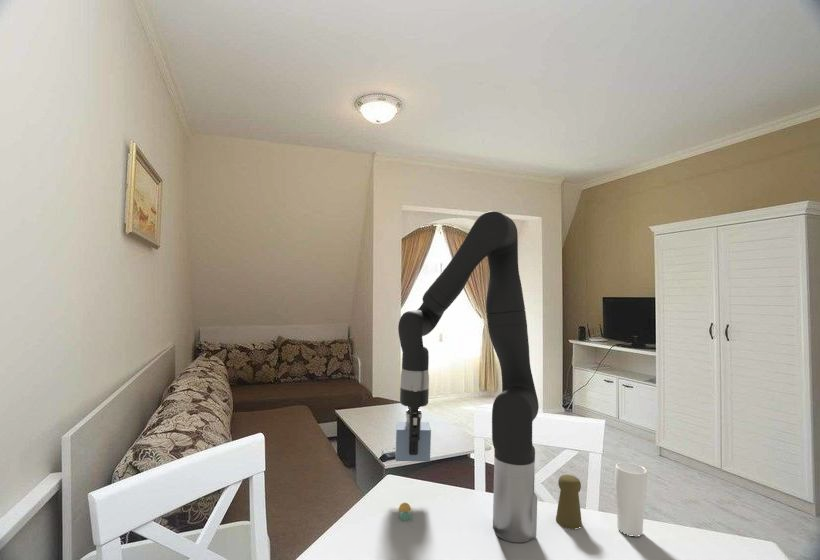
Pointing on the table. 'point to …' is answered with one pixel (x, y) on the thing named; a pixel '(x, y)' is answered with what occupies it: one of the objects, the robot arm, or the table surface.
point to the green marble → (405, 516)
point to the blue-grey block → (403, 443)
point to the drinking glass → (630, 497)
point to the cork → (569, 502)
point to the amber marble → (404, 507)
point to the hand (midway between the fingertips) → (412, 449)
